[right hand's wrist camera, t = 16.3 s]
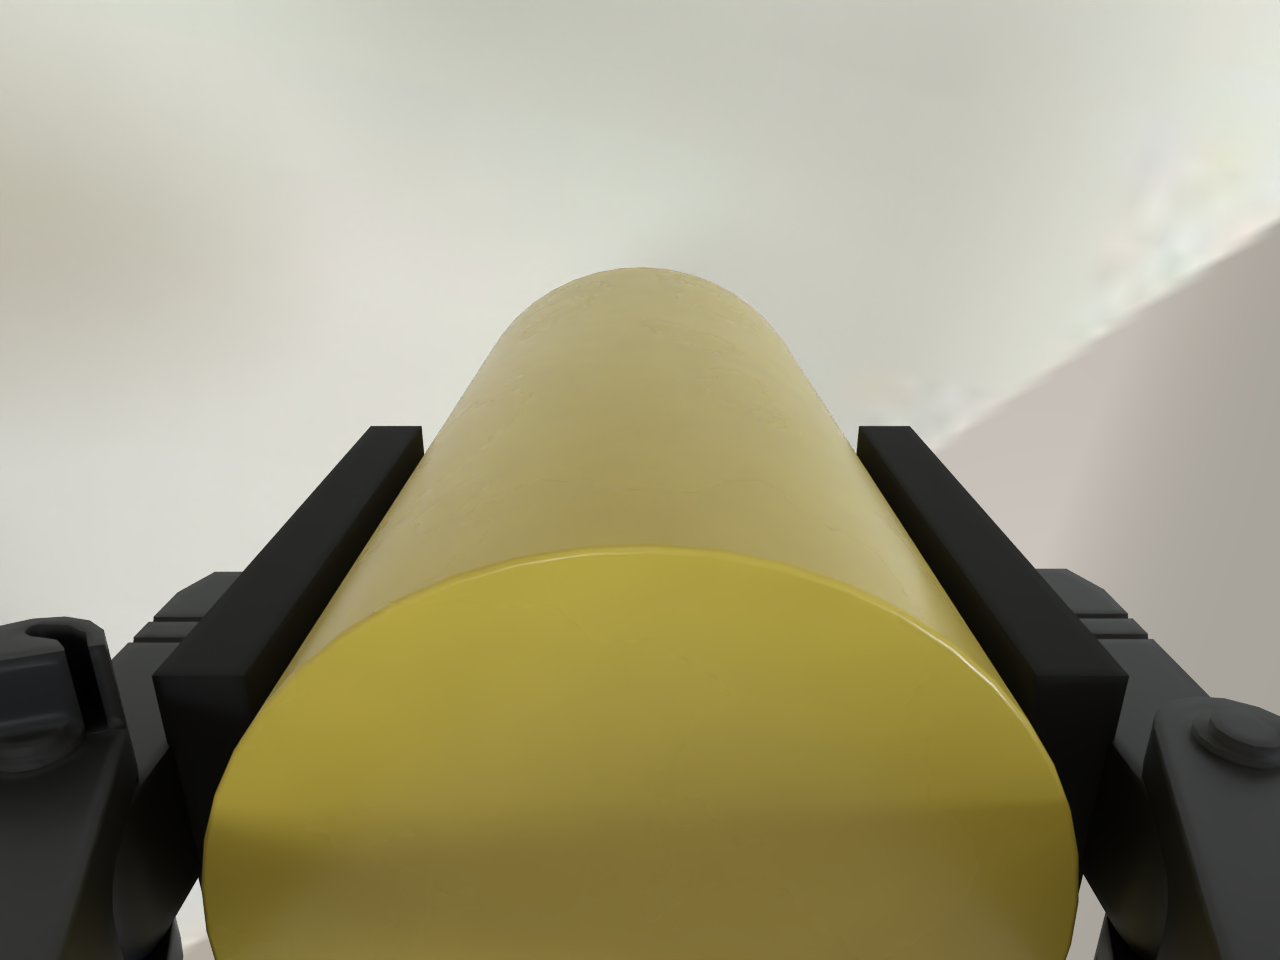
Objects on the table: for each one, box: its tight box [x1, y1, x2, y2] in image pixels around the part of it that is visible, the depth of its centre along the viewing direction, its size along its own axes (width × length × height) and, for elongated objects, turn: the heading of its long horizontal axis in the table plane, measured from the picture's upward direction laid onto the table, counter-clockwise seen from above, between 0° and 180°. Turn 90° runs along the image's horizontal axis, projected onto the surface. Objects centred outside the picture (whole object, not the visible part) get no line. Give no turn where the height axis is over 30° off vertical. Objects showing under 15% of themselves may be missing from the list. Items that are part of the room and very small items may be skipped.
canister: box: [201, 267, 1078, 960], centre depth 12 cm, size 6×6×12 cm
